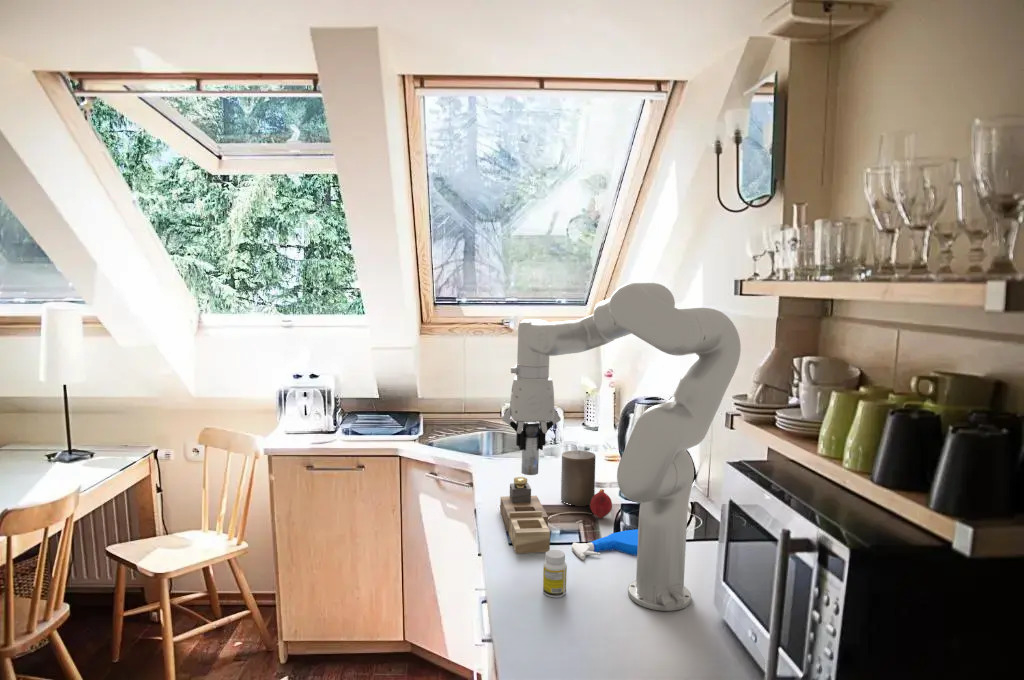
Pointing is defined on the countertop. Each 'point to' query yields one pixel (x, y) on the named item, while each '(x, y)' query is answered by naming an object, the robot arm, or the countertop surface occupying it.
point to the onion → (601, 504)
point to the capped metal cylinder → (530, 448)
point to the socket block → (520, 503)
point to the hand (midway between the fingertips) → (530, 447)
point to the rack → (529, 532)
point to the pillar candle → (578, 477)
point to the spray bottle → (609, 544)
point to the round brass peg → (520, 482)
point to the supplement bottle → (554, 574)
